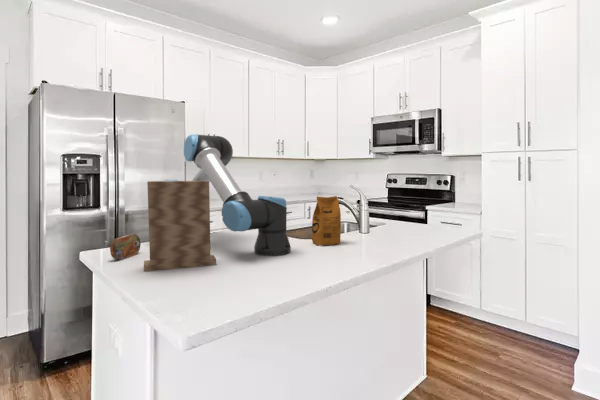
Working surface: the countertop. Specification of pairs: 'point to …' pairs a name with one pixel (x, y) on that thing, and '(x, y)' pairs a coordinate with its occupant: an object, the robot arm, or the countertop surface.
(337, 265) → the countertop surface
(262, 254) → the robot arm
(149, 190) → the stand
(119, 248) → the tin
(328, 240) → the coffee package
